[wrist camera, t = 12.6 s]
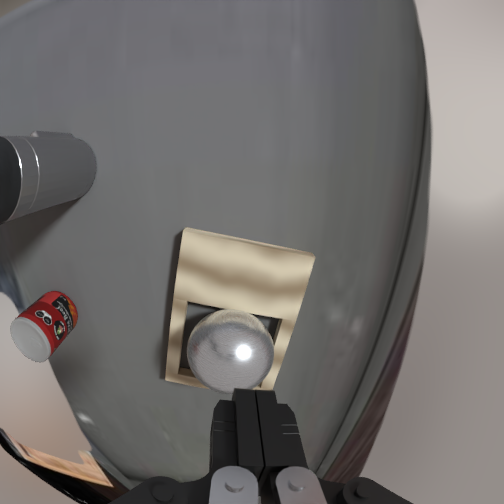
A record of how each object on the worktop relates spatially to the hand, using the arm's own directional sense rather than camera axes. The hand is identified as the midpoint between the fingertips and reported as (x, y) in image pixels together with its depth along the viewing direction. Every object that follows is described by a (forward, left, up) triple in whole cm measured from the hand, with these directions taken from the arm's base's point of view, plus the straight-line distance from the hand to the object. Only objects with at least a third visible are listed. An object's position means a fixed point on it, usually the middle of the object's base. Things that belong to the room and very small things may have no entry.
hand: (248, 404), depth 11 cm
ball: (+13, -10, -26) cm, 31 cm away
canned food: (-6, -34, -32) cm, 48 cm away
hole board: (+11, -9, -32) cm, 35 cm away
